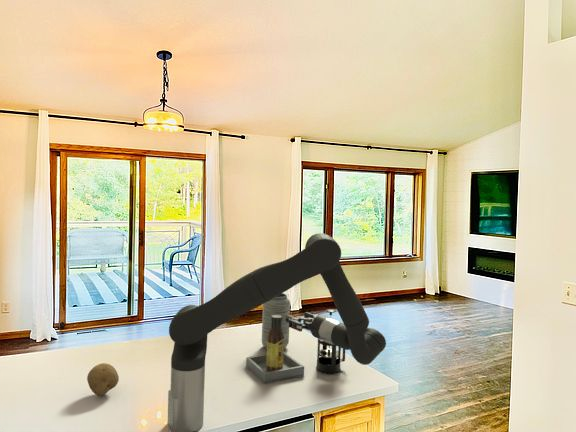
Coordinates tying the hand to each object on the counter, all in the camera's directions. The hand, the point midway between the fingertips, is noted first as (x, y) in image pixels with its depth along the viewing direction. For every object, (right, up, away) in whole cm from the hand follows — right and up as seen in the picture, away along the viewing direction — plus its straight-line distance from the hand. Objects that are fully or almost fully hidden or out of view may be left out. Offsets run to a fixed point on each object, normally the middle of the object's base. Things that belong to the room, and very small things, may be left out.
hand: (295, 316), depth 145 cm
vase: (-8, -22, +33) cm, 41 cm away
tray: (-8, -23, +10) cm, 26 cm away
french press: (+13, -24, +13) cm, 30 cm away
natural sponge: (-61, -22, -13) cm, 66 cm away
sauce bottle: (-8, -22, +9) cm, 25 cm away
